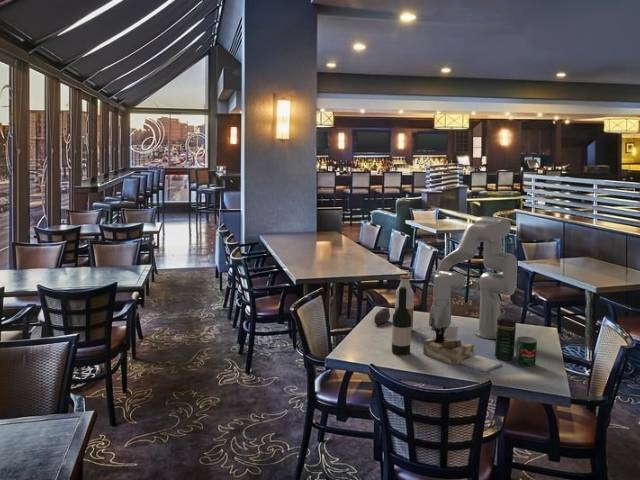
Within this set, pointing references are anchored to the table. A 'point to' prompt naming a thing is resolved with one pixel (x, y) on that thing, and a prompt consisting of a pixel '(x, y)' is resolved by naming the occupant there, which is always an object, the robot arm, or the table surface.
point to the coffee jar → (505, 337)
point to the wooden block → (450, 344)
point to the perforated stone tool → (382, 316)
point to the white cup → (451, 331)
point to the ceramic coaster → (481, 363)
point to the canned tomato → (526, 352)
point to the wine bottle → (401, 326)
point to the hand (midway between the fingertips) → (439, 341)
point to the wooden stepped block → (447, 351)
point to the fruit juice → (409, 296)
